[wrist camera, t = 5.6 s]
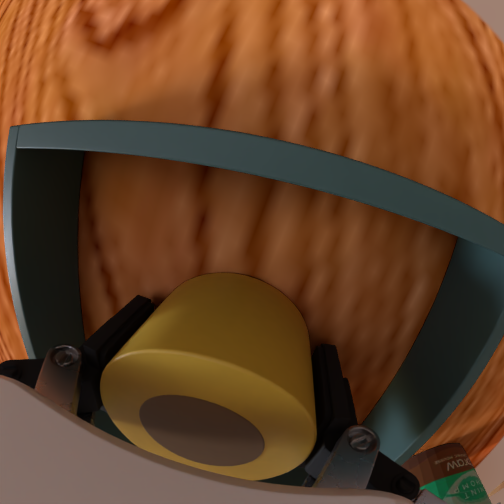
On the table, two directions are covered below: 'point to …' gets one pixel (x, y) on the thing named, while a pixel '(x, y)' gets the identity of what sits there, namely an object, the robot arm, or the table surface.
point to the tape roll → (218, 380)
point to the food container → (448, 475)
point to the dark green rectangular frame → (278, 168)
